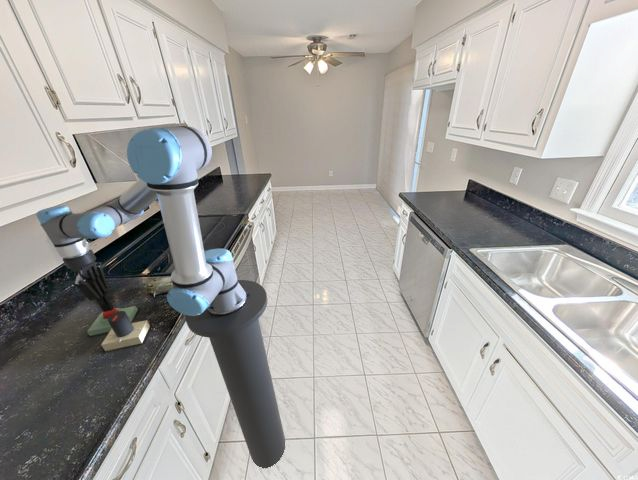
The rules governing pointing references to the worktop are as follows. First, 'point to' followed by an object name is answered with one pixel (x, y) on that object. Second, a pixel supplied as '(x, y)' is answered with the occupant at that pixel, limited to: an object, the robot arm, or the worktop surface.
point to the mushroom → (160, 286)
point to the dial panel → (126, 337)
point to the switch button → (109, 313)
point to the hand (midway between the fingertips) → (109, 309)
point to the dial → (120, 324)
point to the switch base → (103, 325)
